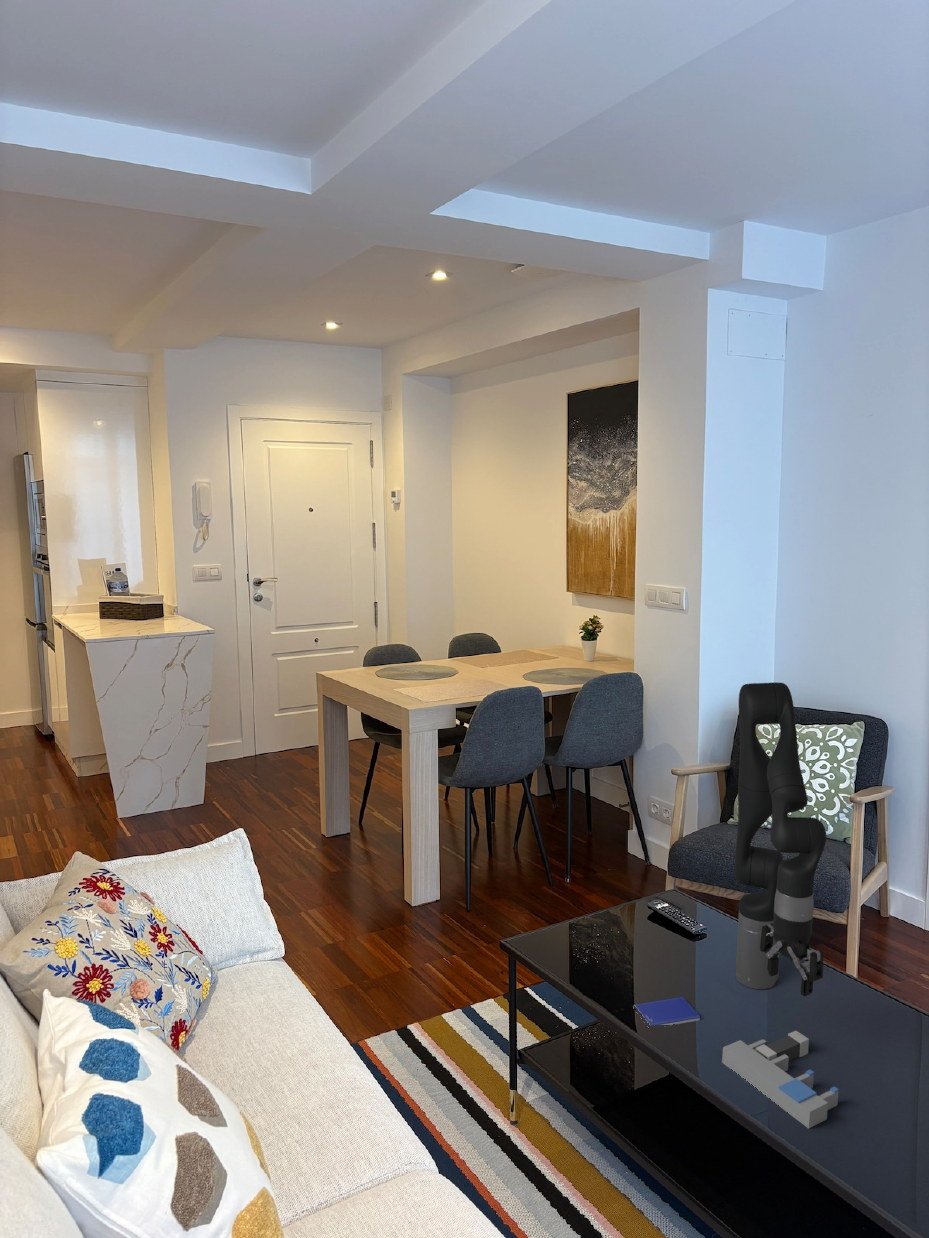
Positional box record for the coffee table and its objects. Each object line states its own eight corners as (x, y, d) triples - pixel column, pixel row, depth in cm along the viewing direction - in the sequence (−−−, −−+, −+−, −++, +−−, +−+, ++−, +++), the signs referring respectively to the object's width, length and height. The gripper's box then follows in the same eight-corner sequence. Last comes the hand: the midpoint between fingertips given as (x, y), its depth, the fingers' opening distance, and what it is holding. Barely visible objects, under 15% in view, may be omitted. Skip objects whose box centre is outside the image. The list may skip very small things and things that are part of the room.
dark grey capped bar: (795, 1044, 193) (795, 1030, 193) (807, 1053, 190) (808, 1038, 190) (754, 1062, 188) (755, 1047, 187) (767, 1071, 185) (768, 1056, 184)
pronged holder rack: (756, 1047, 192) (757, 1030, 192) (844, 1109, 173) (846, 1091, 173) (722, 1062, 187) (722, 1045, 187) (808, 1128, 169) (809, 1109, 168)
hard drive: (649, 1024, 199) (700, 1015, 202) (633, 1003, 207) (682, 995, 210) (649, 1031, 199) (700, 1022, 202) (633, 1010, 207) (682, 1001, 210)
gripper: (834, 921, 180) (829, 996, 183) (779, 893, 193) (775, 963, 195) (808, 930, 177) (804, 1006, 179) (753, 901, 189) (750, 972, 192)
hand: (789, 984), depth 187 cm, fingers open, 8 cm apart
